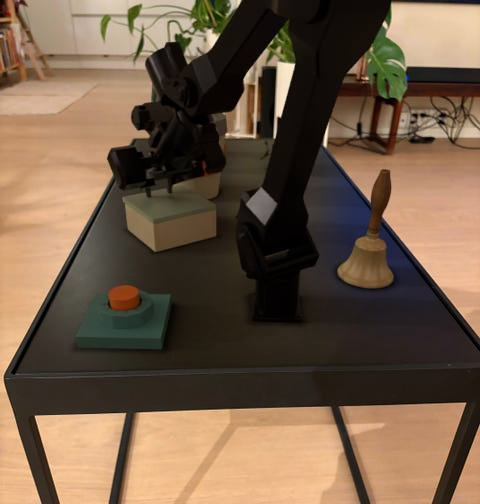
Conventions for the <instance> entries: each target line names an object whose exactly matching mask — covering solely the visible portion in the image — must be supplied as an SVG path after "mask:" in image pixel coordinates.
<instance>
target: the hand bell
mask: <svg viewBox="0 0 480 504" xmlns="http://www.w3.org/2000/svg"><path fill="white" fill-rule="evenodd" d="M391 195H392V178H391V170H390V169H386V168H381V170H380V171H379V173H378V176H377V178H376V179H375V181H374V183H373V186H372V188H371V193H370V210H371V211H370V212H371V213H370V219H369V223H368V227H367V231H366V235H365V236H362V237H361V236H360V237H359V238H357V239H356V241H355V242H354V246H353V249H352V251H351V253H350V256H349V257H348V259H347V260H346V261H344V262H343V263H341V264H340V265H339V266H338V268H337V275H338V277H339V278H340V279H341V280H342V281H343V282H345V283H346V284H349V285H351V286H354V287H358V288H362V289H370V290H371V289H374V290H375V289H381V288H387V287H388V286H389V285H391V284H392V283H393V281H394V274H393V272H392V270H391V269H390V268H389V266H388V263H387V243H386V242H385V240H383V239H381V238H380V237H379V236H380V232H381V225H382V219H383V215H384V213H385V211H386V209H387V207H388V205H389V203H390V199H391Z"/></svg>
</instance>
